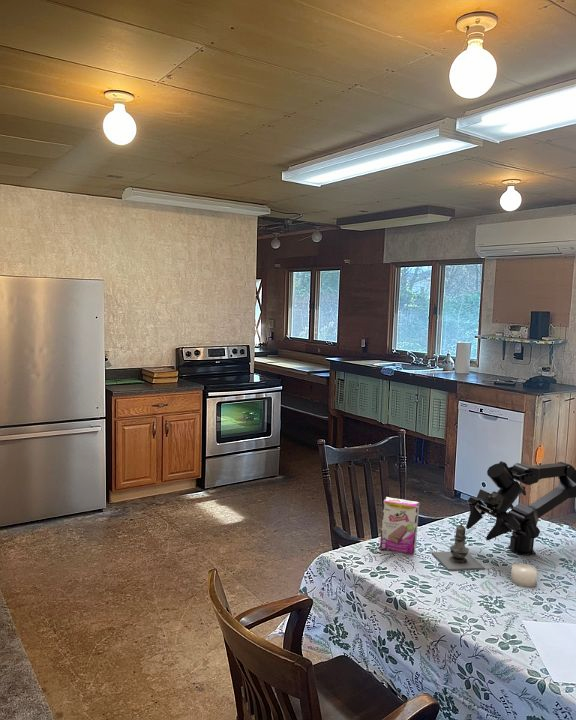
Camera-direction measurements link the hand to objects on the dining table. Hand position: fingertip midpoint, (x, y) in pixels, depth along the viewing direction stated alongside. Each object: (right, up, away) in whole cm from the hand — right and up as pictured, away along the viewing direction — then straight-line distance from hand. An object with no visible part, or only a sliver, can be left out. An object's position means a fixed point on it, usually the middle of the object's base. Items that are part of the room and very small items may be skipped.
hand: (476, 533), depth 186 cm
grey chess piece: (-6, -8, -2) cm, 10 cm away
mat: (-7, -8, -2) cm, 11 cm away
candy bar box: (-24, -7, +5) cm, 26 cm away
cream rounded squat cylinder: (+10, -10, -13) cm, 19 cm away
